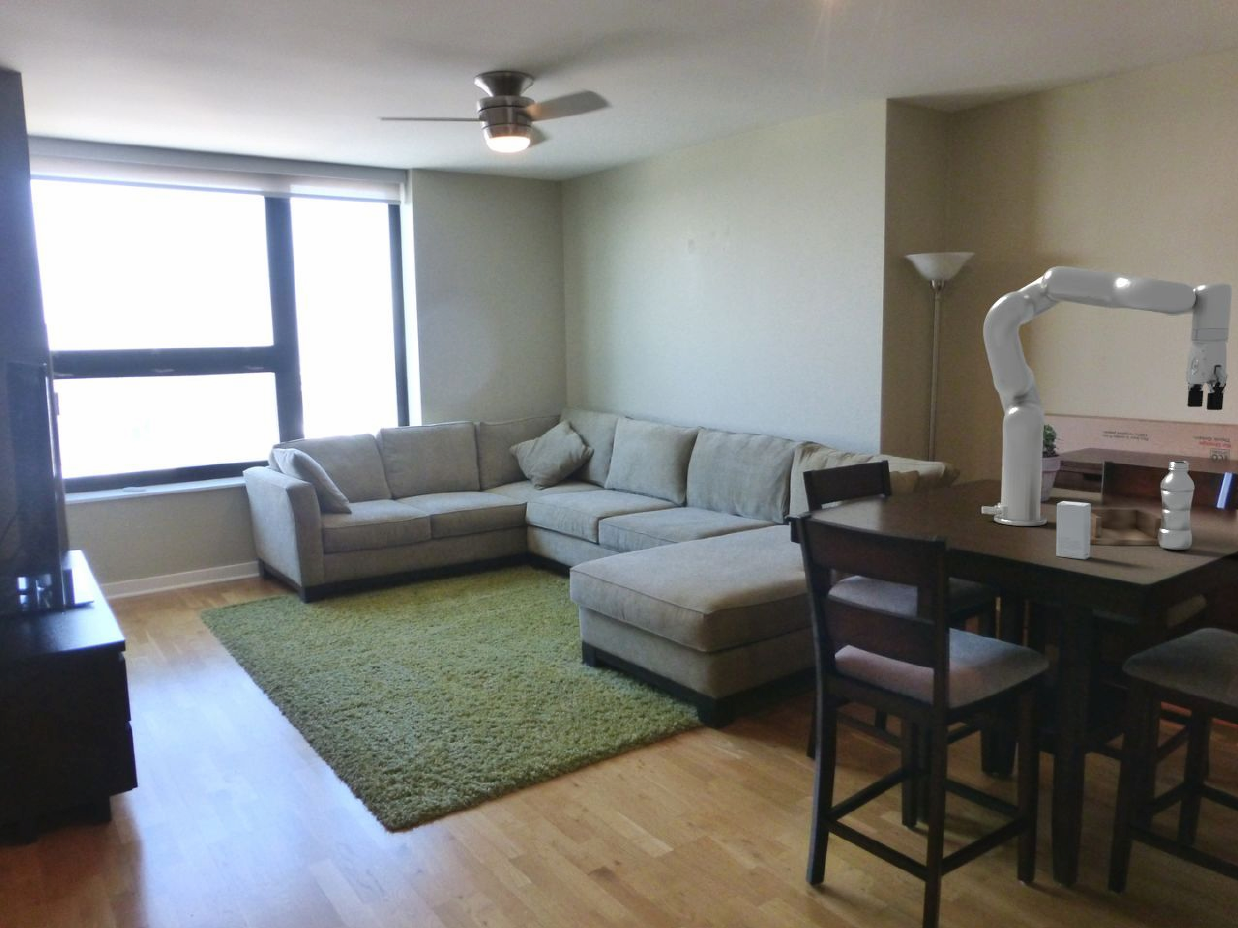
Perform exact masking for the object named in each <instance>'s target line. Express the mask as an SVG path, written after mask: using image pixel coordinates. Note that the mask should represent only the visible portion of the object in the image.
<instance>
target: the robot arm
mask: <svg viewBox="0 0 1238 928" xmlns="http://www.w3.org/2000/svg"><path fill="white" fill-rule="evenodd" d="M1232 295H1233V289H1232V286H1231V285H1230V284H1228V283H1224V282H1223V283H1222V282H1220V283H1203V284H1199V285H1189V284H1186V283H1183V282H1178V281H1172V280H1171V281H1169V280H1164V279H1163V280H1162V279H1155V278H1147V277H1139V276H1134V275H1127V274H1124V273H1123V274H1122V273H1118V272H1117V273H1116V272H1111V271H1110V272H1108V271H1100V270H1093V269H1087V268H1081V267H1072V266H1066V265H1061V266H1060V265H1056V266H1053V267H1051V268H1049V269H1047V270H1046V272H1044V274H1043V275H1041V277H1039V278H1037V279H1036V280H1034V281H1032V282H1031V283H1029V284H1027V285H1026V286H1024V287H1022V288H1020V289H1018V290H1017V291H1016V290H1015V291H1011V292H1008V293H1006V294H1004V295H1003V296H1001V297H1000V298H999V299H998V300H996V302H994V304H993V305H992V306H991V307H990V309H988V310H989V311H988V312H987V314H986V316H985V319H984V322H983V327H982V328H983V329H982V335H983V342H984V345H985V350H986V354H987V360H988V363H989V367H990V371H991V375H992V380H993V386H994V389H995V390H996V391H997V392H998V395H999V398H1000V402H1001V406H1002V410H1003V412H1004V416H1003V421H1002V435H1003V436H1002V465H1001V466H1002V467H1001V490H1000V491H1001V493H1000V494H1001V498H1000V502H998V503H997V505H996V504H995V505H994V506H989V505H988V506H986V505H985V506H982V505H981V514H988V515H994V516H993V520H994V521H995V523H999V524H1003V525H1008V526H1017V527H1018V526H1019V527H1035V526H1036V527H1037V526H1044V525H1045V524H1047V518H1046V517H1044V516H1042V515H1041V502H1042V501H1041V479H1042V451H1043V430H1044V425H1045V419H1046V417H1045V410H1044V407H1043V404H1042V400H1041V397H1040V393H1039V390H1038V387H1037V382H1036V379H1035V375H1034V372H1033V370H1032V368H1031V367H1030V366H1029V365H1028V363H1027V361H1026V357H1025V354H1024V350H1023V346H1022V345H1023V344H1022V342H1021V339H1020V334H1019V332H1020V331H1019V330H1020V326H1021V325H1024V324H1027V323H1029V322H1030V321H1031V320H1034V319H1035V318H1037V317H1038V316H1040V315H1042V314H1044V313H1046V312H1048V311H1049V310H1051V309H1052V308H1054V307H1056V306H1057V305H1059V304H1060V303H1062V302H1065V303H1072V304H1078V305H1079V304H1080V305H1085V306H1092V307H1099V308H1105V309H1129V310H1137V311H1138V310H1139V311H1147V312H1153V313H1157V314H1163V315H1166V316H1171V317H1175V316H1176V317H1177V316H1181V315H1188V314H1189V315H1190V314H1191V315H1192V320H1191V331H1190V332H1191V333H1190V347H1189V352H1188V357H1187V362H1186V363H1187V364H1186V372H1185V373H1186V374H1185V381H1186V382H1187V383H1188V386H1187V390H1188V392H1187V393H1188V394H1187V404H1186V405H1187V407H1189V408H1201V407H1203V403H1204V390H1203V387H1204V385H1205V384H1207V387H1208V392H1207V399H1206V409H1207V411H1221V410H1223V404H1224V393H1225V390H1226V389H1225V388H1226V386H1227V380H1228V378H1229V376H1228V373H1227V343H1228V342H1229V333H1230V321H1231V320H1230V319H1231V307H1232Z"/></svg>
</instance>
